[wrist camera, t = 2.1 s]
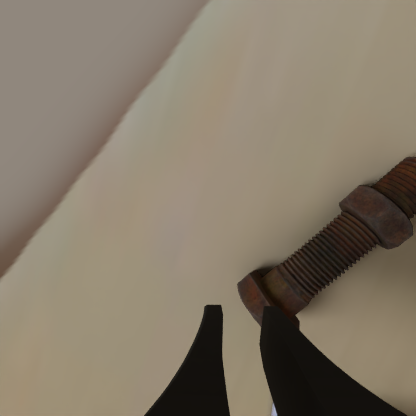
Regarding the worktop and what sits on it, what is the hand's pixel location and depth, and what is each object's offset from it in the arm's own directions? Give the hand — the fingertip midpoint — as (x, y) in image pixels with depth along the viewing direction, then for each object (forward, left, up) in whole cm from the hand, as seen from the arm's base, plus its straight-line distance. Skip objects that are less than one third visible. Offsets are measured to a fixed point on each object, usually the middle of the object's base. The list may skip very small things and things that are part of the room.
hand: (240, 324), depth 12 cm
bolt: (0, -8, -10) cm, 13 cm away
